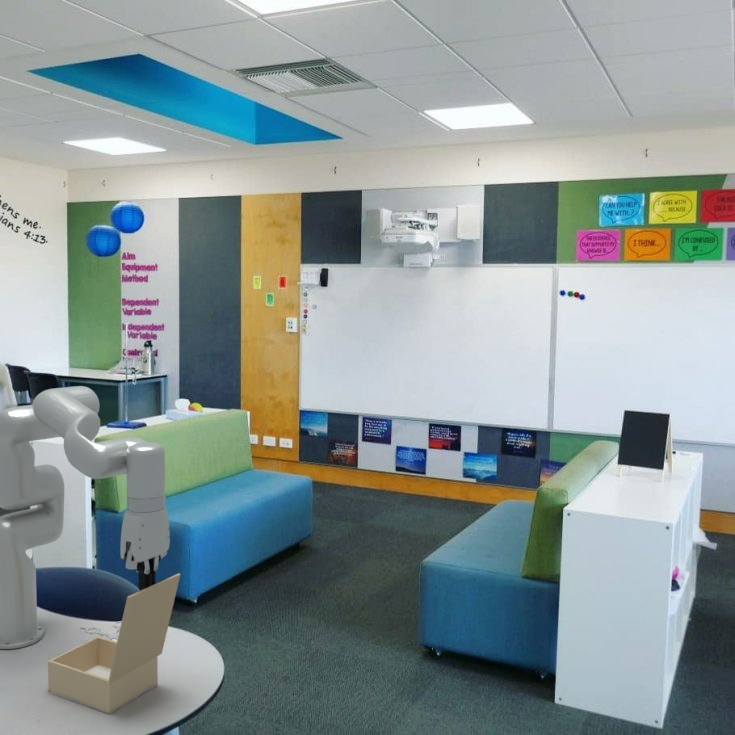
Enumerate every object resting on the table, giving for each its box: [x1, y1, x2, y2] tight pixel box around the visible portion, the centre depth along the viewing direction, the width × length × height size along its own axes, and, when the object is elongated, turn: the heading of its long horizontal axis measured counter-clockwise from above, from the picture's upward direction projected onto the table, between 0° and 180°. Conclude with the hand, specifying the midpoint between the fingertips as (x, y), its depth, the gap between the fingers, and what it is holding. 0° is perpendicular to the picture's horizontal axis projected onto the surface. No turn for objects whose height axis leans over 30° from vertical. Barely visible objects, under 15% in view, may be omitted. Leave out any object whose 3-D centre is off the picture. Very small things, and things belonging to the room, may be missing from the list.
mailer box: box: [47, 635, 159, 715], centre depth 170 cm, size 18×14×7 cm
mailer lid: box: [108, 573, 181, 683], centre depth 163 cm, size 20×15×1 cm
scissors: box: [80, 620, 122, 642], centre depth 195 cm, size 11×1×20 cm
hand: (147, 589), depth 162 cm, fingers closed
